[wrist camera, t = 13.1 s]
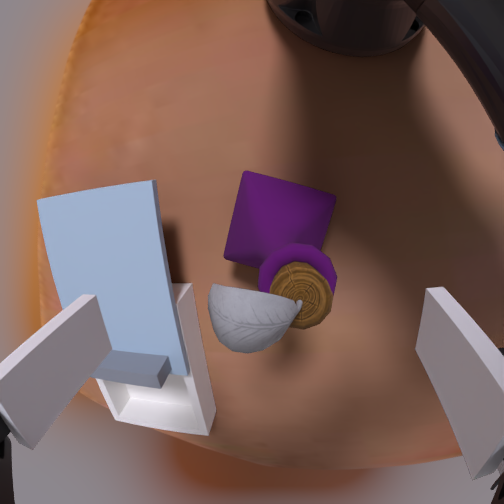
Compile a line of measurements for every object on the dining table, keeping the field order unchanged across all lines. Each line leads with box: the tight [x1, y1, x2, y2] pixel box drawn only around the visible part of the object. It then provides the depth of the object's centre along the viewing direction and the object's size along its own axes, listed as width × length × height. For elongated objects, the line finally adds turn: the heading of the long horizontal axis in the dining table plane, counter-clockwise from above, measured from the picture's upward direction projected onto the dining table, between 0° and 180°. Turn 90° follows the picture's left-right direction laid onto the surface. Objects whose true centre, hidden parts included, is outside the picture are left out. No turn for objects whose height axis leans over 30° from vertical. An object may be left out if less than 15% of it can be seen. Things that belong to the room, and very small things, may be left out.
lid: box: [37, 180, 190, 389], centre depth 25 cm, size 18×13×4 cm
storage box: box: [96, 283, 216, 436], centre depth 33 cm, size 18×13×4 cm
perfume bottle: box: [208, 171, 337, 353], centre depth 20 cm, size 8×8×18 cm
